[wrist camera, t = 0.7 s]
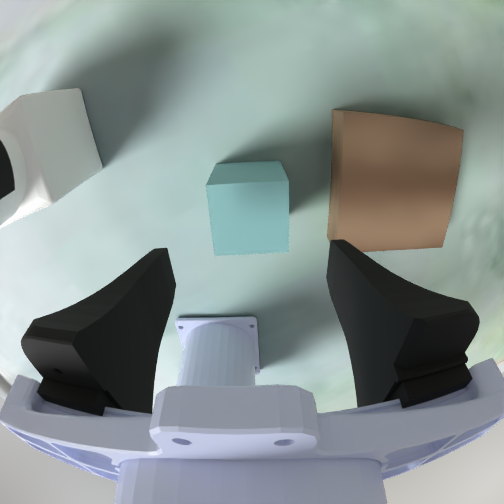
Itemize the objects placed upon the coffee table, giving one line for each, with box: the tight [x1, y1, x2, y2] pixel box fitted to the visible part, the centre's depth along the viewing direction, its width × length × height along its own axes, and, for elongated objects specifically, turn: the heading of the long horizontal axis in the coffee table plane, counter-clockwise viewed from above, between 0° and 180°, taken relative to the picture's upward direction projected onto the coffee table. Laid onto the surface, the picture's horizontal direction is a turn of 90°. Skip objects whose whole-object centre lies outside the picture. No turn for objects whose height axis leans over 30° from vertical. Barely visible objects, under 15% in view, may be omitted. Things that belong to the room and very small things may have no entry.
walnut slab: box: [327, 110, 464, 252], centre depth 19 cm, size 10×10×3 cm
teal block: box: [206, 161, 289, 256], centre depth 18 cm, size 4×4×5 cm
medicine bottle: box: [0, 88, 103, 228], centre depth 12 cm, size 7×7×12 cm
